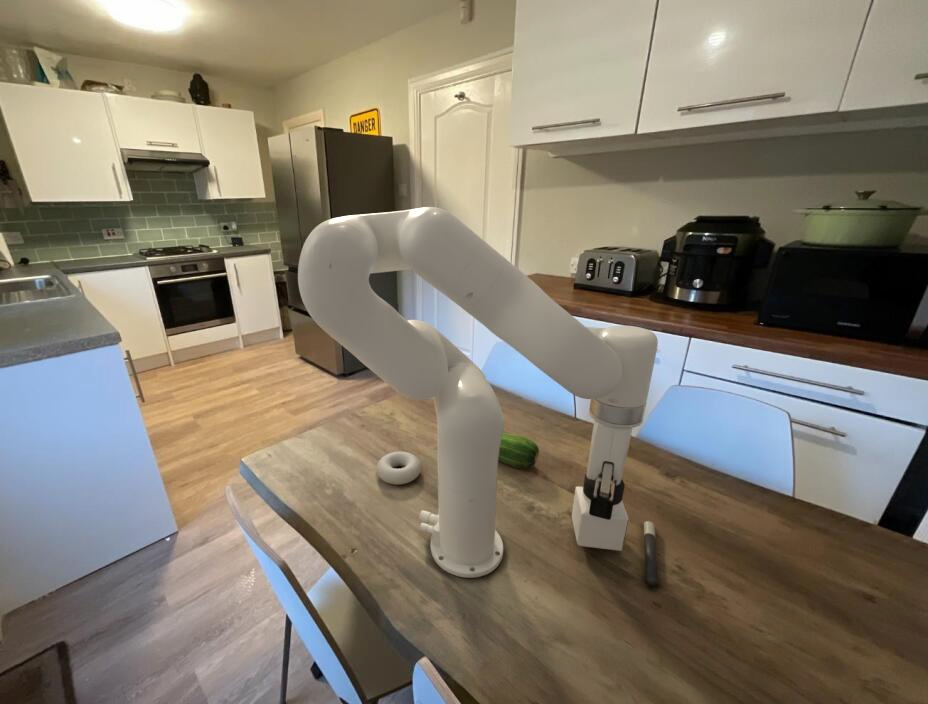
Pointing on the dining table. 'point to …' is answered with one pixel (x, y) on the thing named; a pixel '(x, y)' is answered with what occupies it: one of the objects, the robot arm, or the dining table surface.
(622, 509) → the white block black top
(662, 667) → the dining table surface
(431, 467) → the dining table surface
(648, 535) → the marker
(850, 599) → the dining table surface
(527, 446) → the vegetable
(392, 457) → the donut
